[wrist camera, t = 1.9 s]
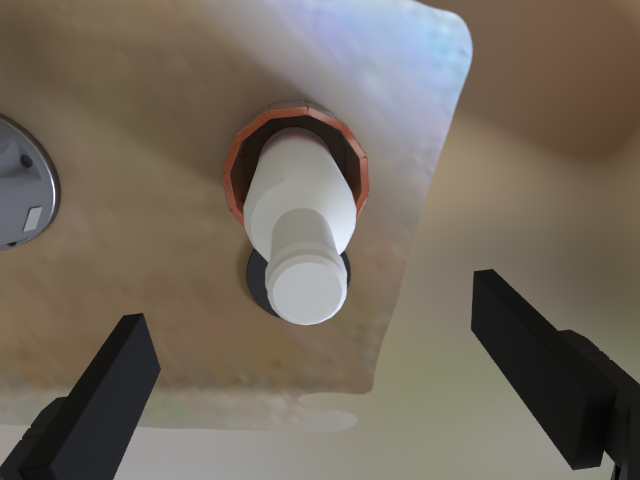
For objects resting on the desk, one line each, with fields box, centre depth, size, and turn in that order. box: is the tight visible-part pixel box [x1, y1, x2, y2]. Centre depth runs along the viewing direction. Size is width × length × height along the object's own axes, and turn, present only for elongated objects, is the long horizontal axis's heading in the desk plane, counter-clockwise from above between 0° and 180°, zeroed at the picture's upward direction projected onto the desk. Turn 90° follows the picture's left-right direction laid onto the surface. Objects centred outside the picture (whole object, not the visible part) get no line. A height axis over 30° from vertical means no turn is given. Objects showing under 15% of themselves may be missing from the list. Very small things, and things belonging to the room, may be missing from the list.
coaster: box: [247, 249, 350, 319], centre depth 51 cm, size 13×13×1 cm
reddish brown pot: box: [222, 100, 369, 228], centre depth 41 cm, size 13×13×10 cm
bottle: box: [243, 126, 357, 325], centre depth 32 cm, size 8×8×30 cm
